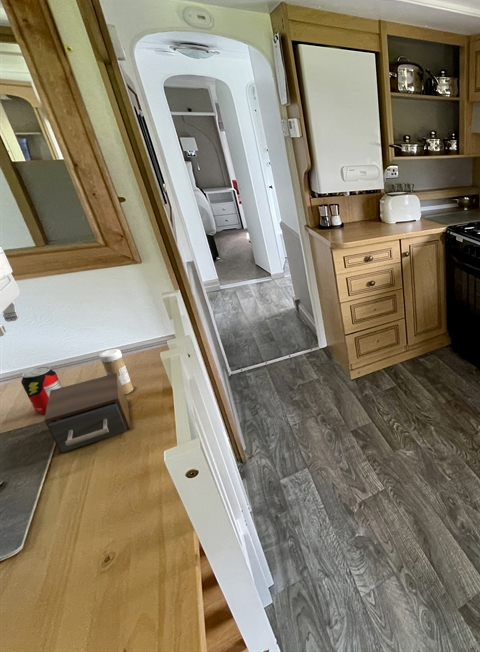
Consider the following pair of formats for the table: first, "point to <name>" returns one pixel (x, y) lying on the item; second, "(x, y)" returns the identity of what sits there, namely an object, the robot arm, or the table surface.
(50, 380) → the beverage can
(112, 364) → the sprinkles bottle
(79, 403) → the cabinet
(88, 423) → the drawer
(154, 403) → the table surface
